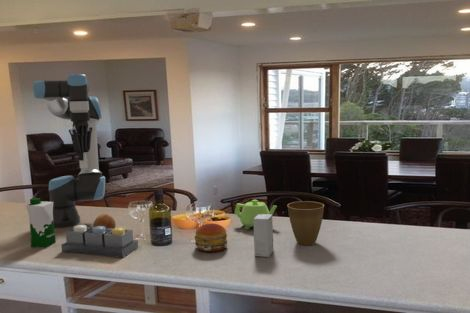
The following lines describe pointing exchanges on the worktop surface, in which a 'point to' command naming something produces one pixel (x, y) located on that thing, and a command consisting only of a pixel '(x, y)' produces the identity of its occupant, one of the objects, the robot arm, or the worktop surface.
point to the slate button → (98, 229)
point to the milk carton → (41, 223)
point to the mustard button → (118, 231)
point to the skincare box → (263, 235)
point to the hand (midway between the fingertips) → (83, 167)
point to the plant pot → (306, 220)
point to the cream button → (80, 228)
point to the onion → (104, 221)
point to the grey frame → (99, 243)
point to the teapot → (252, 212)
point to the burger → (211, 238)
